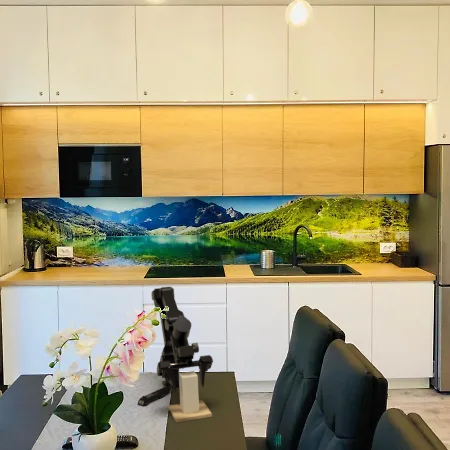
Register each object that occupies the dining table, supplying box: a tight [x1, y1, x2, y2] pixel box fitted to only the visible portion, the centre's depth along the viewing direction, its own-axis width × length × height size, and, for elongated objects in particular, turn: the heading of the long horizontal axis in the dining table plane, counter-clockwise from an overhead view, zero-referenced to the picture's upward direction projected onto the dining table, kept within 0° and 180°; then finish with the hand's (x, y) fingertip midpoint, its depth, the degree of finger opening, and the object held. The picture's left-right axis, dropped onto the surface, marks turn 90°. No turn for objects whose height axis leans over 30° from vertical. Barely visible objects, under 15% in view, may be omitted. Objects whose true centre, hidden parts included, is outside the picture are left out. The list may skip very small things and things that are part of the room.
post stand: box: [168, 399, 213, 423], centre depth 182 cm, size 12×12×4 cm
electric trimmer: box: [137, 385, 172, 408], centre depth 195 cm, size 4×16×3 cm, turn 144°
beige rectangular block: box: [179, 370, 200, 414], centre depth 182 cm, size 5×5×12 cm
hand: (189, 388), depth 180 cm, fingers open, 9 cm apart
